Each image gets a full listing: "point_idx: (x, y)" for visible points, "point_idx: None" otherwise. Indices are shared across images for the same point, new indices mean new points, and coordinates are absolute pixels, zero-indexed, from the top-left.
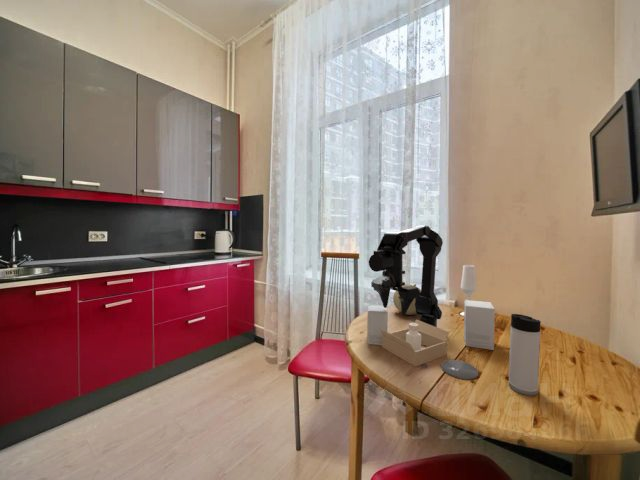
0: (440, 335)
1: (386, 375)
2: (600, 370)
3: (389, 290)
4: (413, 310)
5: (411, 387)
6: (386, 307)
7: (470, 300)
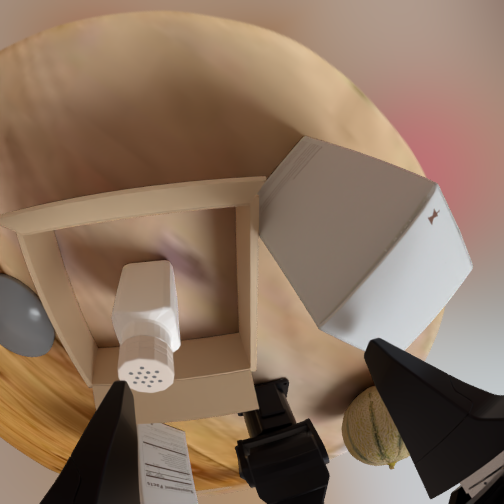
0: None
1: (36, 55)
2: (38, 453)
3: (426, 481)
4: (353, 412)
5: None
6: (364, 355)
7: None
